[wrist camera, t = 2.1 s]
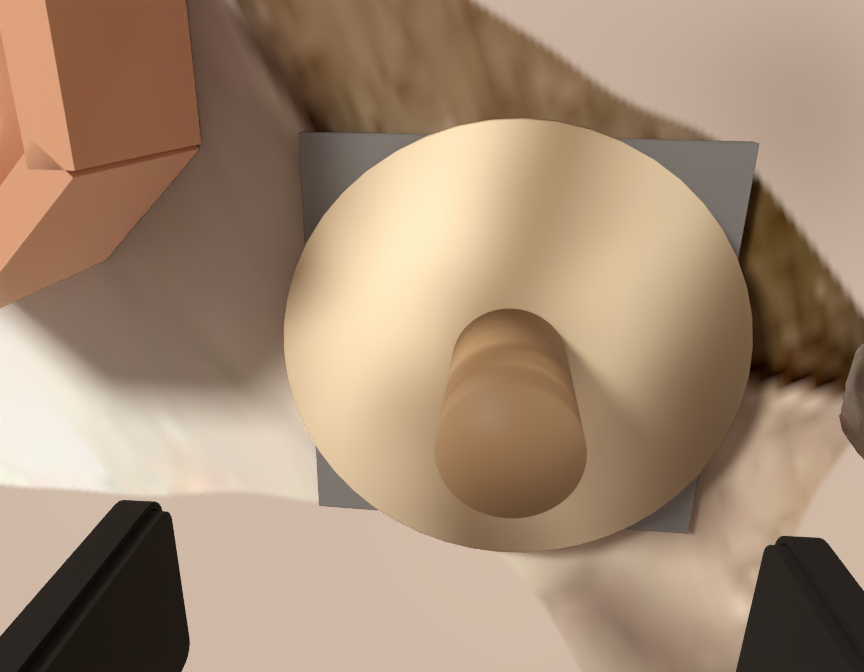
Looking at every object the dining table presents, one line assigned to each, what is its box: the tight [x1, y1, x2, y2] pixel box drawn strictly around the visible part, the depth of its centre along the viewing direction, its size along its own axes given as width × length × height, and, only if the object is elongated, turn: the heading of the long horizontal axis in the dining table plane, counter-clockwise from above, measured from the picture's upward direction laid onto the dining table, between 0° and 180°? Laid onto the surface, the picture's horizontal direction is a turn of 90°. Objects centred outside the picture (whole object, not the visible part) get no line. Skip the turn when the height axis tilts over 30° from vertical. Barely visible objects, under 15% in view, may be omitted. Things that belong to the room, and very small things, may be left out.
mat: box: [299, 131, 759, 534], centre depth 20 cm, size 12×12×1 cm
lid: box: [284, 118, 753, 552], centre depth 17 cm, size 13×13×6 cm
